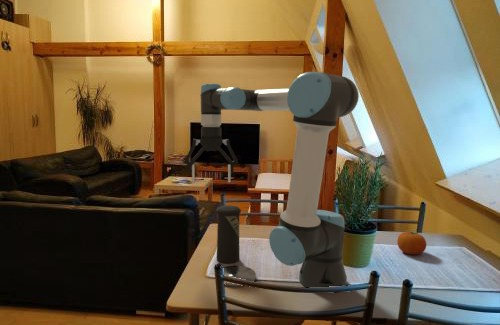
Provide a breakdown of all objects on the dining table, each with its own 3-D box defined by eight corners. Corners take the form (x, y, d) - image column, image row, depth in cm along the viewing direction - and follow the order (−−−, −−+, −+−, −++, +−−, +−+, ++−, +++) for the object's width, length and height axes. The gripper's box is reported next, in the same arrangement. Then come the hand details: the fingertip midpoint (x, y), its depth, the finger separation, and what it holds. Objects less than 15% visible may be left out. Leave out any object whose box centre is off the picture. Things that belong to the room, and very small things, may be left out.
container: (236, 265, 124) (237, 210, 121) (212, 262, 125) (213, 208, 123) (242, 256, 132) (243, 204, 129) (219, 253, 134) (220, 202, 131)
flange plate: (263, 278, 114) (263, 275, 114) (233, 291, 105) (233, 287, 105) (238, 265, 124) (238, 262, 123) (208, 276, 115) (208, 272, 115)
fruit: (415, 259, 132) (416, 239, 131) (391, 250, 141) (392, 231, 140) (430, 254, 138) (432, 235, 137) (406, 246, 147) (408, 227, 146)
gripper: (243, 126, 135) (243, 180, 138) (178, 125, 132) (179, 181, 135) (245, 126, 128) (245, 183, 130) (176, 126, 125) (177, 184, 127)
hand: (211, 182), depth 132 cm, fingers open, 13 cm apart
